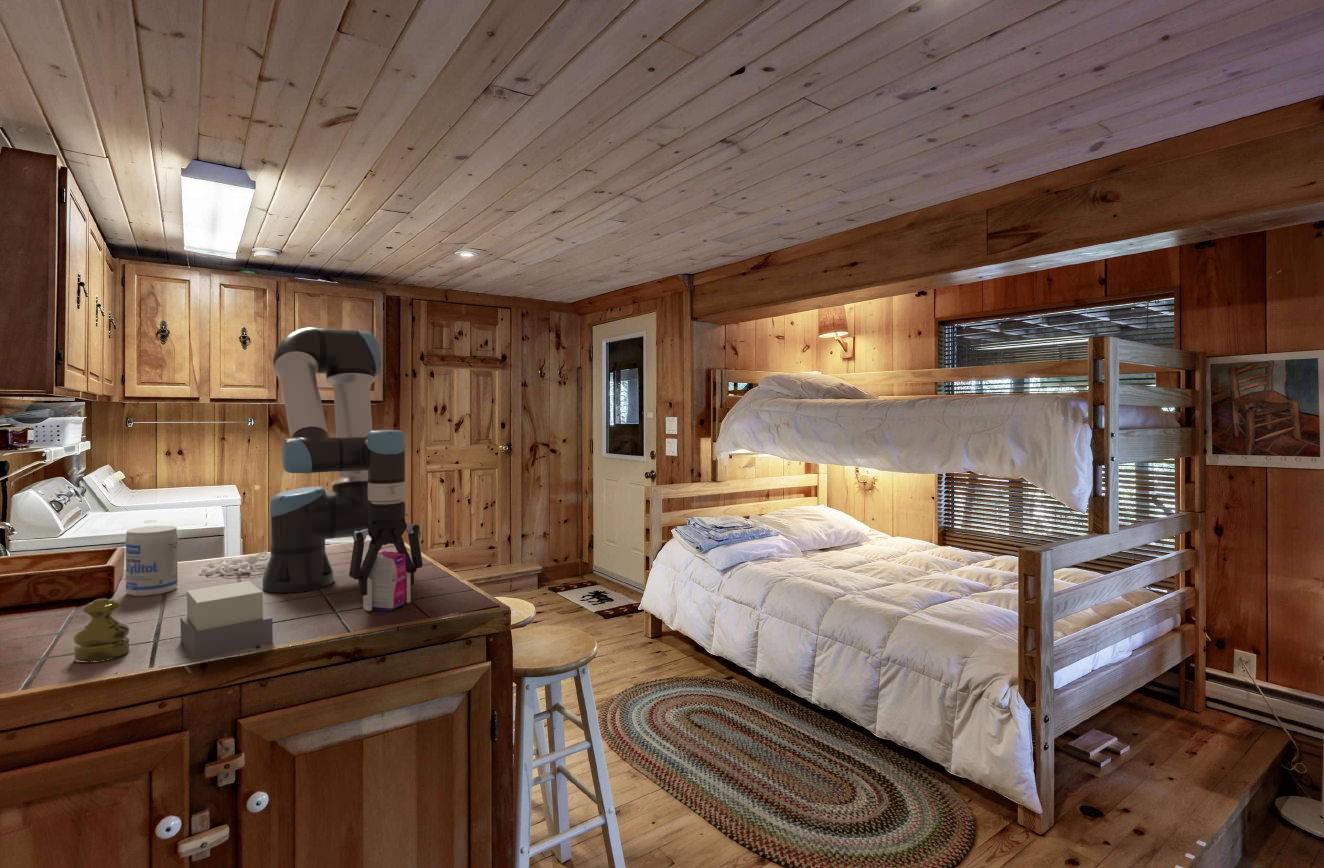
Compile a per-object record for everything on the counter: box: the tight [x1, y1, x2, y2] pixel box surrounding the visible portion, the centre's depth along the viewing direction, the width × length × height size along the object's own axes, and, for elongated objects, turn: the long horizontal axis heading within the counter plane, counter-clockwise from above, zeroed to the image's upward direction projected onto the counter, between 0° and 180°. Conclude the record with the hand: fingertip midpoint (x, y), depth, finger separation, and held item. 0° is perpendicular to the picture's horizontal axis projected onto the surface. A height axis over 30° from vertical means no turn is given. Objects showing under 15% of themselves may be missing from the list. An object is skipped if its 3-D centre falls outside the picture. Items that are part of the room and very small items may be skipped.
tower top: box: [186, 580, 264, 631], centre depth 122 cm, size 10×10×5 cm
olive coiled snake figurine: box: [72, 597, 130, 662], centre depth 115 cm, size 7×7×10 cm
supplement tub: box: [125, 525, 179, 597], centre depth 153 cm, size 10×10×15 cm
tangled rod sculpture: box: [198, 550, 271, 576], centre depth 173 cm, size 19×14×4 cm
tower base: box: [179, 610, 274, 661], centre depth 122 cm, size 12×12×5 cm
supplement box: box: [368, 550, 407, 612], centre depth 144 cm, size 6×6×12 cm
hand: (387, 604), depth 144 cm, fingers closed on supplement box, 8 cm apart
